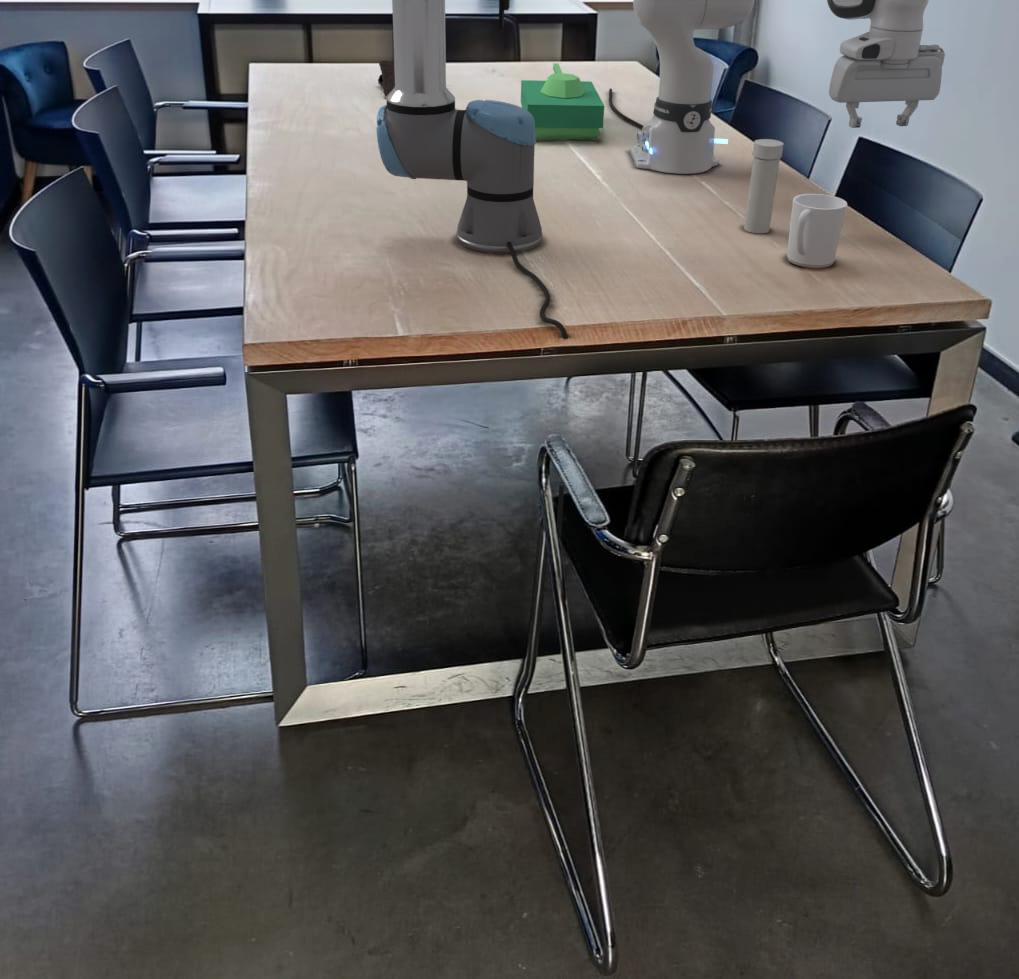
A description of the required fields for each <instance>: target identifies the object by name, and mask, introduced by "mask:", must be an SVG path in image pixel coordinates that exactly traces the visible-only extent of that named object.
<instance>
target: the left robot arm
mask: <svg viewBox="0 0 1019 979" xmlns="http://www.w3.org/2000/svg"><path fill="white" fill-rule="evenodd" d="M391 4H392V5H391V6H392V7H391V8H392V9H391V10H392V34H393V36H392V37H393V39H392V40H393V61H394V68H395V87H394V89H393V90H392V91H391V92H390V93H389V94H388V96H386V104H384V105H383V106H381V107H379V109H378V111H377V115H376V138H377V147H378V151H379V156H380V159H381V162H382V164H383V166H384V168H385V170H386V171H387V172H388V173H389V174H390V175H391V176H393V177H400V178H407V179H408V178H409V179H411V180H417V179H422V180H423V179H426V180H442V181H443V180H445V181H461V182H464V181H465V182H466V192H467V193H466V198H465V202H464V205H463V209H462V211H461V214H460V218H459V220H458V224H457V228H456V241H457V243H458V244H459V245H461V246H462V247H464V248H466V249H468V250H470V251H475V252H479V253H486V254H497V255H499V254H500V255H506V254H507V255H508V254H510V256H511V258H512V261H513V263H514V265H515V266H516V268H517V270H519V271H520V272H521V273H523V274H524V275H526V276H527V277H529V278H531V280H532V281H534V282H535V283H536V285H538V287H539V288H540V290H541V291H542V293H543V295H544V302H543V303H542V306H541V307H540V309H539V317H540V320H541V321H542V322H543V323H546V324H549V325H552V326H555V327H557V329H558V330H559V331H560V333H561V337H562V339H563V340H568V339H569V335H568V333H567V330H566V328H565V327H564V325H563V324H562V323H561V322H560V321H558V320H556V319H555V318H551V317H547V316H546V311H547V308H548V307H549V305H550V303H551V295H550V292H549V289H548V288H547V286H546V285H545V283H543V281H542V280H541V279H540V278H539V277H538V276H537V275H536V274H535V273H534V272H532V271H530V270H529V269H527V268H526V267H525V266H523V265H522V264H521V262H520V261H519V259H518V255H517V253H524V252H527V251H530V250H533V249H536V248H538V247H539V246H540V245H541V244H542V243H543V229H542V224H541V221H540V220H541V219H540V218H539V214H538V213H539V212H538V210H537V206H536V204H535V199H534V183H535V181H534V180H535V148H536V147H535V146H536V144H537V139H536V138H535V121H534V118H533V116H532V115H531V113H530V112H528V111H527V110H525V109H524V108H522V106H519V105H517V104H514V103H510V102H505V101H499V100H492V99H485V100H483V99H476V100H471V101H469V102H468V104H467V106H466V107H465V109H457V108H456V97H455V95H454V94H453V93H452V92H451V91H450V90H449V89H448V87H447V64H446V63H447V61H446V60H447V57H446V56H447V54H446V53H447V49H446V44H447V43H446V42H447V41H446V0H391ZM510 7H511V0H498V29H502V30H503V28H505V11H509V10H510ZM564 493H565V485H561V484H560V485H558V499H557V515H556V516H557V517H556V518H557V519H556V529H557V528H558V533H559V536H560V537H561V538H562V527H563V512H564V496H565V495H564Z"/></svg>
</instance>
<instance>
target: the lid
mask: <svg viewBox="0 0 1019 979" xmlns="http://www.w3.org/2000/svg"><path fill="white" fill-rule="evenodd" d="M784 145H785V144H784V142H783V141H781V140H777V139H771V138H760V139H755V140H754V141H753V146H752V156H753V158H754V157H756V158H760V159H768V160H774V159H780V160H781V158H782V157H783V150H784Z"/></svg>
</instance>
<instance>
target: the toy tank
mask: <svg viewBox="0 0 1019 979" xmlns="http://www.w3.org/2000/svg"><path fill="white" fill-rule="evenodd" d="M552 70H553V73H551V74H550V75H549V76H547V78H546V80H535V79H534V80H528V79H521V80H520V104H521V105H520V106H521V107H522V108H524V109H525V110H527V111H528V112H530V113H531V115H532V116H533V118H534V121H535V138H536V140H558V141H559V140H561V141H562V140H564V141H565V140H567V141H568V140H572V141H573V140H574V141H577V140H578V141H579V140H580V141H598V140H599V137H600V129H602V130H603V129H604V119H605V118H604V117H605V104H604V102H603V100H602V99H601V97H600V95H599V93H598V90H597V89H596V87H595V85H594V83H593V82H592V81H586V80H585V81H584V80H583V81H582V80H581V79H580V77H579V76H577V75H576V74H573V73H566V72H565V73H564V72H563V71H562V68H561V66H560V64H559V63H552Z"/></svg>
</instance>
